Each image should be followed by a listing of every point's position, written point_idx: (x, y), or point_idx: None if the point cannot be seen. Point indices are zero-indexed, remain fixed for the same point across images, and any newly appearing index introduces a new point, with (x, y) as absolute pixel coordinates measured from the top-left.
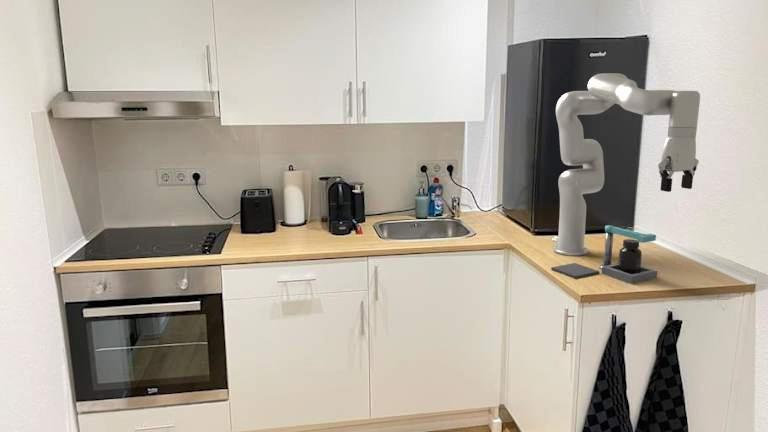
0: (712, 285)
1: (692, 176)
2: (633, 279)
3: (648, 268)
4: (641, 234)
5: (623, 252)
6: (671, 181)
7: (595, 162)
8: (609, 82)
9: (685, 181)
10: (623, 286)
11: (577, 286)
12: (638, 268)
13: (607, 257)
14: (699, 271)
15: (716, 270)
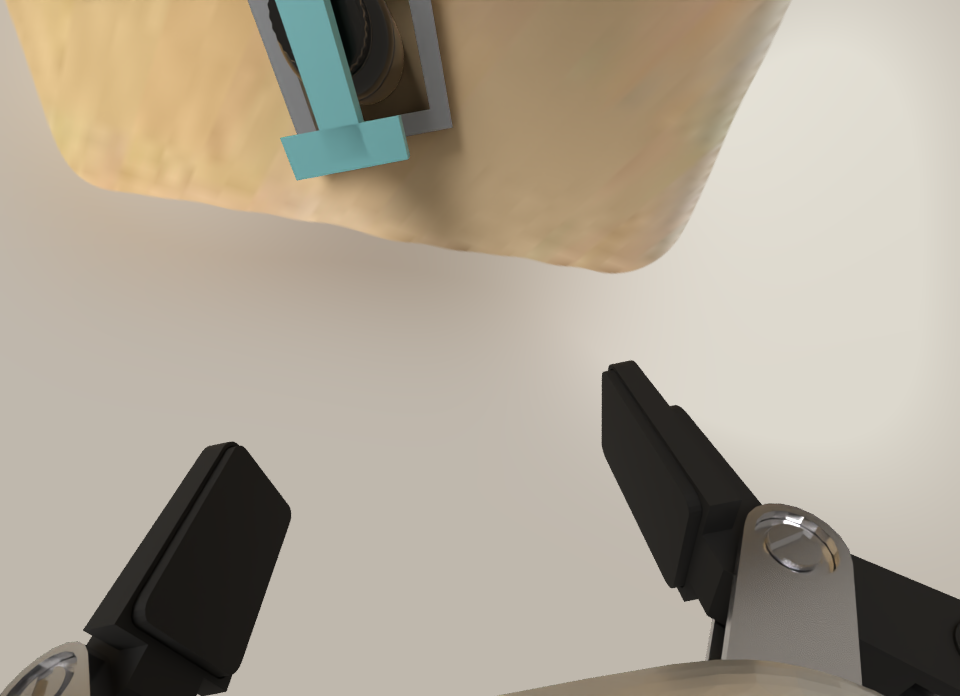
0: (558, 255)
1: (688, 594)
2: None
3: (437, 84)
4: (325, 112)
5: (278, 42)
6: (230, 645)
7: None
8: None
9: (636, 468)
10: (269, 166)
11: (66, 97)
12: (367, 103)
13: None
14: (659, 117)
15: (720, 131)
